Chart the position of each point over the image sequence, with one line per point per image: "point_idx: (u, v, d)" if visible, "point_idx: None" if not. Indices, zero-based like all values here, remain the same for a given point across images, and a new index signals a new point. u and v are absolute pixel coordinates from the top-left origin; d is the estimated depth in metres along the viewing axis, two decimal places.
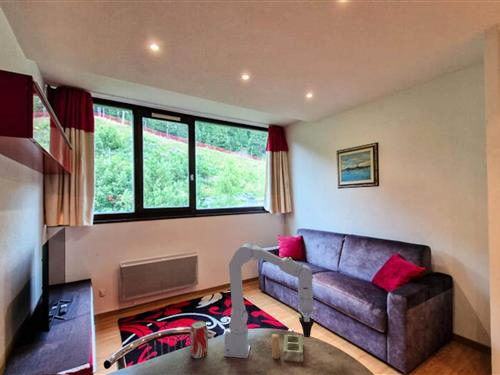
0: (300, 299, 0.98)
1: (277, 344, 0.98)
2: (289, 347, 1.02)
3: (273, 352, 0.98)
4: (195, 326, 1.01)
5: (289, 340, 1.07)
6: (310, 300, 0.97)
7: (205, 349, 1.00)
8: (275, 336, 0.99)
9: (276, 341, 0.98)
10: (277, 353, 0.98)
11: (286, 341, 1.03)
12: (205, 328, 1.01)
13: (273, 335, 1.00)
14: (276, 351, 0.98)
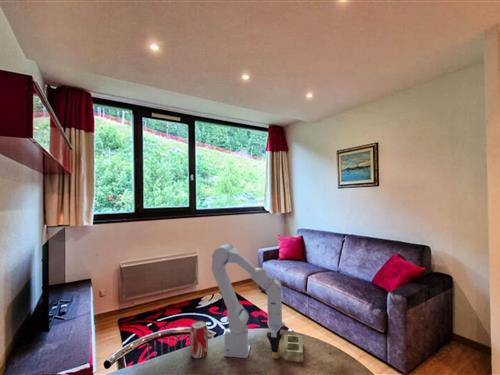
0: (269, 314, 0.99)
1: None
2: (289, 347, 1.02)
3: (273, 352, 0.98)
4: (195, 326, 1.01)
5: (289, 340, 1.07)
6: (278, 315, 0.98)
7: (205, 349, 1.00)
8: None
9: None
10: (277, 353, 0.98)
11: (286, 341, 1.03)
12: (205, 328, 1.01)
13: None
14: None
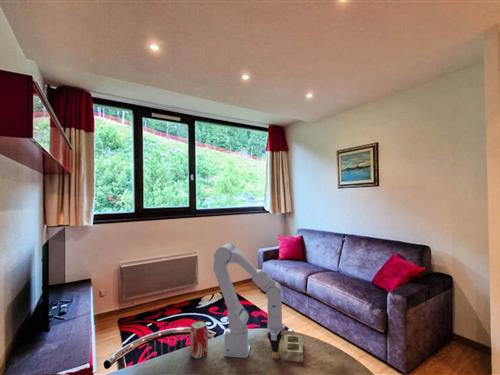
0: (269, 317, 0.99)
1: None
2: (289, 347, 1.02)
3: (273, 352, 0.98)
4: (195, 326, 1.01)
5: (289, 340, 1.07)
6: (278, 318, 0.98)
7: (205, 349, 1.00)
8: None
9: None
10: (277, 353, 0.98)
11: (286, 341, 1.03)
12: (205, 328, 1.01)
13: None
14: None
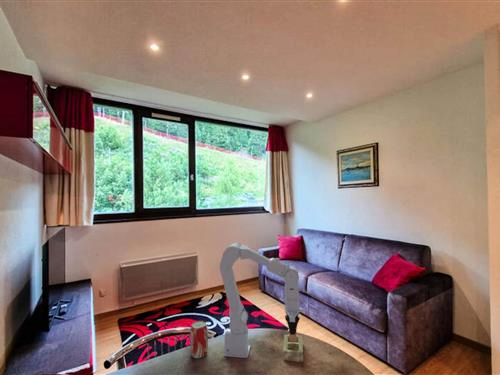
0: (286, 300, 0.99)
1: None
2: (289, 347, 1.02)
3: (291, 335, 0.99)
4: (195, 326, 1.01)
5: (289, 340, 1.07)
6: (296, 301, 0.98)
7: (205, 349, 1.00)
8: None
9: None
10: (295, 336, 0.99)
11: (286, 341, 1.03)
12: (205, 328, 1.01)
13: None
14: None
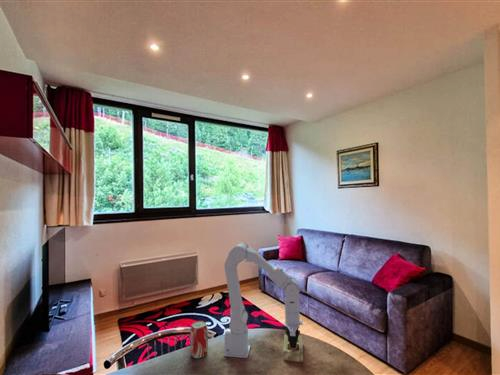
0: (287, 313, 0.99)
1: None
2: None
3: (291, 349, 0.99)
4: (195, 326, 1.01)
5: None
6: (296, 314, 0.98)
7: (205, 349, 1.00)
8: None
9: None
10: None
11: (286, 341, 1.03)
12: (205, 328, 1.01)
13: None
14: (294, 348, 0.98)
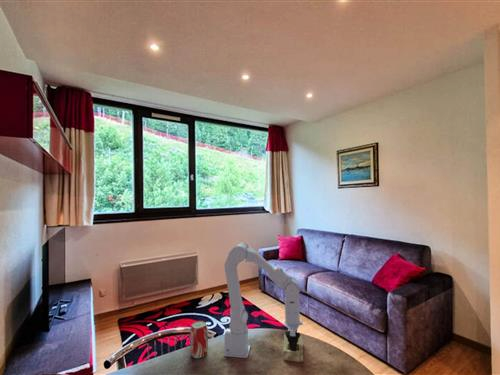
0: (287, 313, 0.99)
1: None
2: None
3: None
4: (195, 326, 1.01)
5: None
6: (296, 314, 0.98)
7: (205, 349, 1.00)
8: None
9: None
10: None
11: (286, 341, 1.03)
12: (205, 328, 1.01)
13: None
14: None
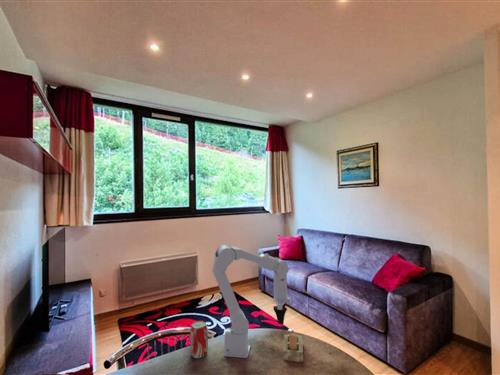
0: (275, 290, 1.07)
1: (295, 343, 0.98)
2: None
3: None
4: (195, 326, 1.01)
5: None
6: (284, 290, 1.06)
7: (205, 349, 1.00)
8: (293, 335, 0.99)
9: (295, 341, 0.98)
10: None
11: (286, 341, 1.03)
12: (205, 328, 1.01)
13: (290, 334, 1.00)
14: None
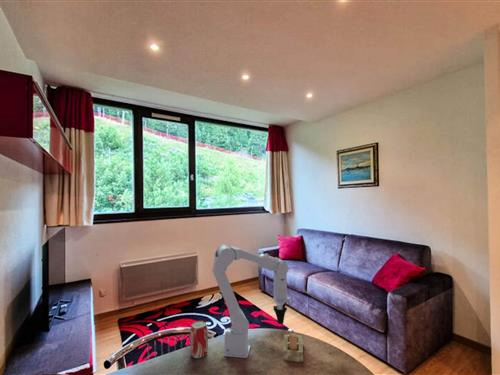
0: (275, 289, 1.07)
1: (295, 344, 0.98)
2: None
3: None
4: (195, 326, 1.01)
5: None
6: (284, 290, 1.07)
7: (205, 349, 1.00)
8: (293, 336, 0.99)
9: (295, 341, 0.98)
10: None
11: (286, 341, 1.03)
12: (205, 328, 1.01)
13: (290, 334, 1.00)
14: None
